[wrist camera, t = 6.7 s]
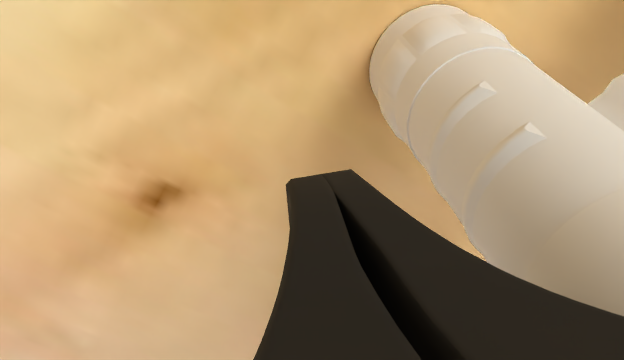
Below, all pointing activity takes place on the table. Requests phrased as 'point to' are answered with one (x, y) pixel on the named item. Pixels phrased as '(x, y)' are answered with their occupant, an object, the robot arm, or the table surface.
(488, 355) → the robot arm
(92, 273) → the table surface
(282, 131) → the table surface
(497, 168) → the binoculars
